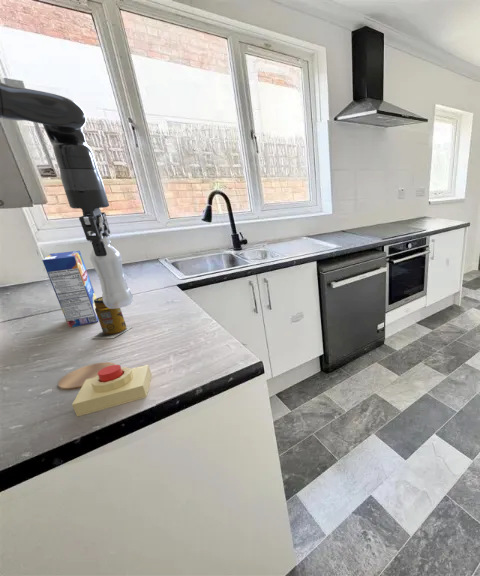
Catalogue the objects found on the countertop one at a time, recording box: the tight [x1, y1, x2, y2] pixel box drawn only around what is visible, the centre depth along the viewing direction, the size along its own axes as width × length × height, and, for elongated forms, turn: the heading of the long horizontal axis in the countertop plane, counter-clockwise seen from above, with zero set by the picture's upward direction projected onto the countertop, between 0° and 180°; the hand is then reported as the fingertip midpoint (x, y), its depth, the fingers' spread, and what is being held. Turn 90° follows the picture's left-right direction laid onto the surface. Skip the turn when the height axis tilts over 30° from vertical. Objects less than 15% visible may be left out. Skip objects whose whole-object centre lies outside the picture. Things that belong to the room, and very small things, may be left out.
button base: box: [71, 364, 153, 417], centre depth 71 cm, size 12×10×5 cm
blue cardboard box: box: [41, 250, 99, 329], centre depth 108 cm, size 12×8×24 cm, turn 37°
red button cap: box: [98, 364, 123, 382], centre depth 70 cm, size 4×4×2 cm
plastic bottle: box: [89, 236, 134, 309], centre depth 85 cm, size 6×7×20 cm
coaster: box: [57, 361, 116, 391], centre depth 79 cm, size 11×11×1 cm
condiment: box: [91, 296, 134, 340], centre depth 100 cm, size 7×8×12 cm
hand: (104, 253), depth 83 cm, fingers closed on plastic bottle, 6 cm apart
